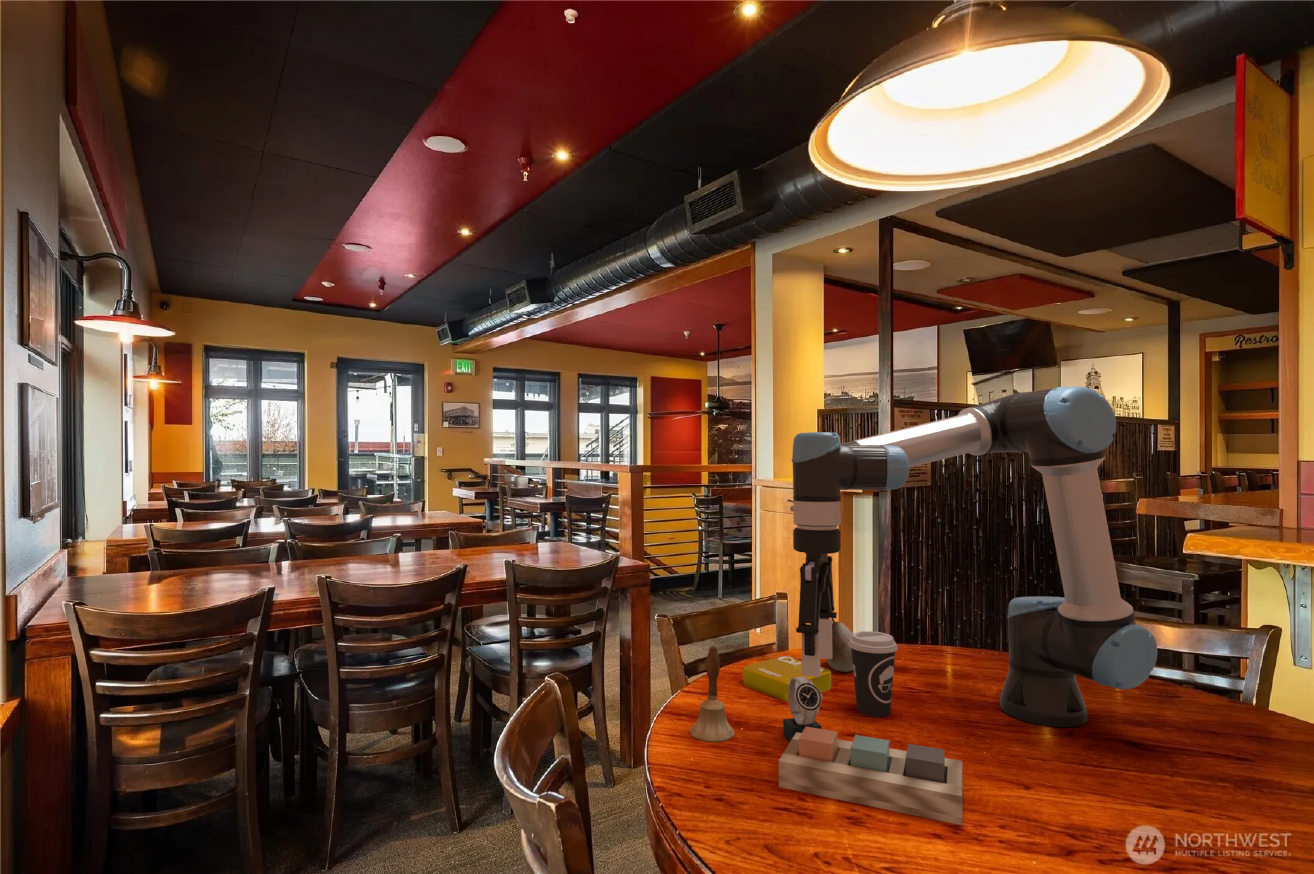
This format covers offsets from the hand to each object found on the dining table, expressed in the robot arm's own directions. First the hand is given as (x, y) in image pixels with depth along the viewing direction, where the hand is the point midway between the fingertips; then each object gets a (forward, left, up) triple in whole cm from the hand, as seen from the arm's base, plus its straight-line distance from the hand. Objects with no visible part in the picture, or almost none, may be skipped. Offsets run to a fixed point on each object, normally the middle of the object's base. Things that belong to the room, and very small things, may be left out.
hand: (817, 665), depth 108 cm
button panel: (-8, 0, -18) cm, 19 cm away
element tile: (+15, -40, -18) cm, 47 cm away
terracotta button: (0, 0, -15) cm, 15 cm away
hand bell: (+21, -9, -18) cm, 29 cm away
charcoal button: (-16, 0, -15) cm, 22 cm away
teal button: (-8, 0, -15) cm, 17 cm away
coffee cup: (-5, -33, -18) cm, 38 cm away
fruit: (+5, -58, -18) cm, 61 cm away
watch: (+5, -13, -18) cm, 23 cm away
